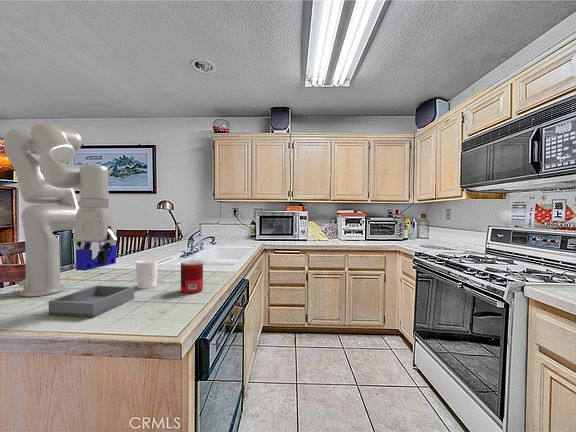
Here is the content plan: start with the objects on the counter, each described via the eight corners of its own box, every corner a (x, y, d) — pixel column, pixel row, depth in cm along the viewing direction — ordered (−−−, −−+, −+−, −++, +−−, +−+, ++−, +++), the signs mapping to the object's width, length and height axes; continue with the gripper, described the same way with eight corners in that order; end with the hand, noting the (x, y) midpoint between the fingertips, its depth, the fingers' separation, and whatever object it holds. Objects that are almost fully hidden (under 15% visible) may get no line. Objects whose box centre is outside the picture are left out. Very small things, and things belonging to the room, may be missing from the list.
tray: (48, 315, 85) (48, 301, 85) (96, 296, 102) (96, 285, 102) (93, 317, 83) (93, 303, 83) (134, 298, 101) (134, 286, 101)
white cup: (162, 285, 117) (162, 260, 117) (143, 290, 111) (143, 263, 111) (150, 283, 122) (150, 258, 121) (131, 287, 115) (131, 261, 115)
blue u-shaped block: (104, 262, 99) (103, 244, 99) (115, 263, 98) (115, 245, 98) (71, 269, 87) (71, 249, 87) (84, 270, 86) (84, 250, 86)
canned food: (207, 289, 113) (207, 260, 112) (192, 295, 105) (192, 264, 105) (191, 287, 116) (191, 259, 116) (176, 292, 109) (176, 262, 108)
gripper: (59, 204, 89) (60, 264, 90) (110, 204, 87) (111, 266, 87) (79, 204, 97) (80, 260, 97) (127, 205, 95) (128, 262, 95)
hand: (95, 262), depth 92 cm, fingers closed on blue u-shaped block, 4 cm apart
